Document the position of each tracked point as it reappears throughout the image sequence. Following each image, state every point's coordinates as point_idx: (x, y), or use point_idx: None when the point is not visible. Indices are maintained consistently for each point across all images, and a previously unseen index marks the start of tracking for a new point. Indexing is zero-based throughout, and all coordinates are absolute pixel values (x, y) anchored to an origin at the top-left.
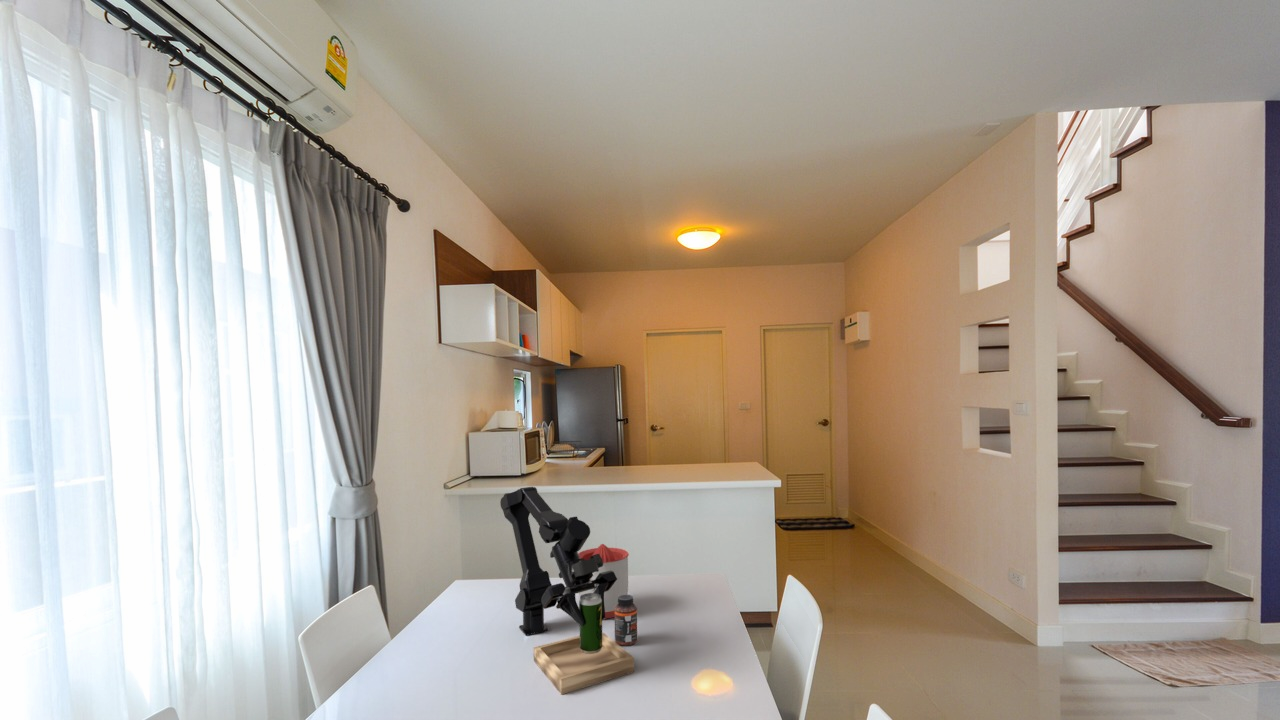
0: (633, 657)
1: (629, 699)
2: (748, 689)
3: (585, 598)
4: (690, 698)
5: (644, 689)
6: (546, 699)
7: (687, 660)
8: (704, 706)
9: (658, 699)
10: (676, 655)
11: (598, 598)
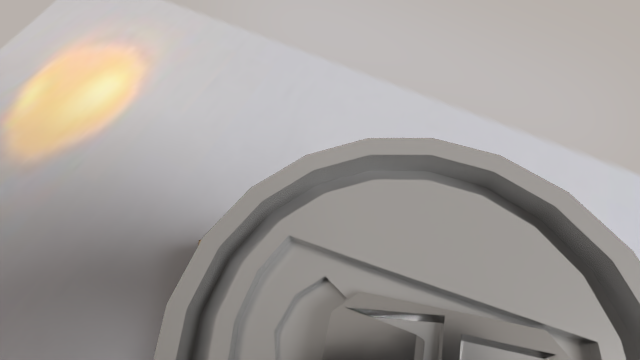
0: (200, 241)
1: (329, 110)
2: (43, 35)
3: (557, 318)
4: (182, 53)
5: (259, 137)
6: (623, 232)
7: (11, 237)
8: (180, 17)
9: (255, 79)
10: (3, 297)
11: (285, 176)
